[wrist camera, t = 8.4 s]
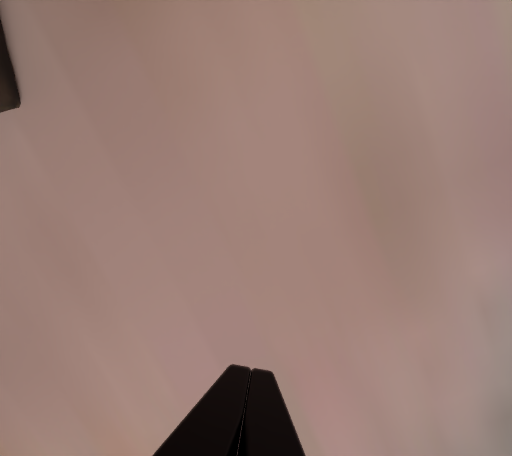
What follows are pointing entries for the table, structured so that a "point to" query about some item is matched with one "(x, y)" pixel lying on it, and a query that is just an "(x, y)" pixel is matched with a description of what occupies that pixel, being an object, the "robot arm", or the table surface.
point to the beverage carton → (7, 79)
